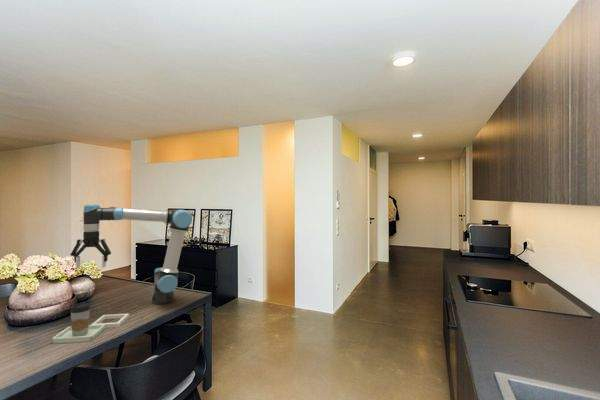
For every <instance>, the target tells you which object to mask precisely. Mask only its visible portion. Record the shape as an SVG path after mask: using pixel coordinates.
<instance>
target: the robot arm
mask: <svg viewBox="0 0 600 400" xmlns="http://www.w3.org/2000/svg"><path fill="white" fill-rule="evenodd" d="M82 214H83V227H82V229H83V233H82V234H83V239H81V238H80V239H77V240H76V244H75V246H74V248H73V249H72V251H71V253H70V256H71V257H74V258H73V259H74V263H75V269H79V268H81V256H80V254H82V252H83V251H85V249H86V248H96V250H98V251H99V253H101V254H102V256H101V268H106V265H107V261H108V260H109V259H108V256H109V255H112V251H111V250H110V248H109V246H108V245H107V244H108V243H106V242H107V241H106V238H102V239H100V221H122V220H126V221H127V220H128V221H141V222H143V221H144V222H161V223H164V224H169V230H170V236H169V240H168V245H167V248H166V253H165V257H164V262H163V265H162V267H157V268H155V269H154V273H153V274H154V276H153V277H154V283H153V286H154V290H153V293H152V296H151V299H150V300H151V301H150V302H151V304H153V305H166V304H171V303H173V302H175V301H176V295H175V291H174V290H175V289H176V288H177V287H178V276H179V269H178V267H179V266H178V265H179V262H180V256H181V253H182V248H183V244H184V241H185V240H184V239H185V234H186V233H188V231H189V227H190V226H191V224H192V222H193V216H192V215H191V212H189V211H187V210H185V209H165V210H155V209H142V208H130V207H129V208H128V207H115V206H110V207H101V206H100V204H85V205H84V206H83V213H82ZM82 244H83V245H82ZM81 245H82V246H81Z"/></svg>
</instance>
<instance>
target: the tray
mask: <svg viewBox="0 0 600 400" xmlns="http://www.w3.org/2000/svg"><path fill="white" fill-rule="evenodd" d="M106 329H107V328H106V324H102V325H91V324H89V326H88V332H87V334H86V335H84V336H77V337H73V335H72V326H71V325H70V326H67V327H66V328H65V329H63V330H62V331H60V332H59V333H57V334H56V335H54V336H53V337H52V338H50V345H56V344H69V343H84V342H86V343H88V342H93V341H94V340H95V339H96V338H98V337H99V336H100V334H102V333H103V332H104V331H105V330H106Z"/></svg>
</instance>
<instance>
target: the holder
mask: <svg viewBox="0 0 600 400" xmlns="http://www.w3.org/2000/svg"><path fill="white" fill-rule="evenodd" d="M129 318H130V313H115V314H103V315H102V316H100V317H99V318H98V319H96V320H95V321H94V322H92V323H91V324H90V325H102V324H106V329H107V328H108V329H110V328H119V327H121V326H122V325H123V323H124V322H126V321H127V320H128V319H129ZM112 319H114V320H115V319H116V320H117V319H119V320H118V321H117V322H103V321H105V320H112Z"/></svg>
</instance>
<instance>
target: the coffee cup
mask: <svg viewBox="0 0 600 400" xmlns="http://www.w3.org/2000/svg"><path fill="white" fill-rule="evenodd" d="M69 313H70V318H71V320H70V322H71V323H70V324H71V325H70V326H72V335H73V337H77V336H84V335H86V334H87V332H88V326H89V325H90V324H89V323H90V313H91V305H90V303H89V302H80V303H76V304H73V305H72V306H71V308H70V312H69Z"/></svg>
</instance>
